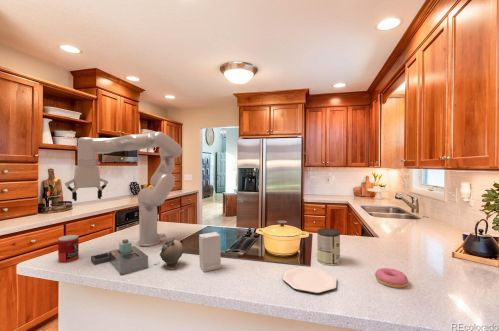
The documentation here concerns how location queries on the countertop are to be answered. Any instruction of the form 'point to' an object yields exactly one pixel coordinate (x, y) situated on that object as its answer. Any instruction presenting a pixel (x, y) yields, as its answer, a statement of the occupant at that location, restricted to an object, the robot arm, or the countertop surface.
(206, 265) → the skincare box
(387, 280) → the doughnut
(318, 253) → the coffee can
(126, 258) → the port panel
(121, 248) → the plug
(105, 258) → the tray
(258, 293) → the countertop surface
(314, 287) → the plate
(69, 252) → the canned food
